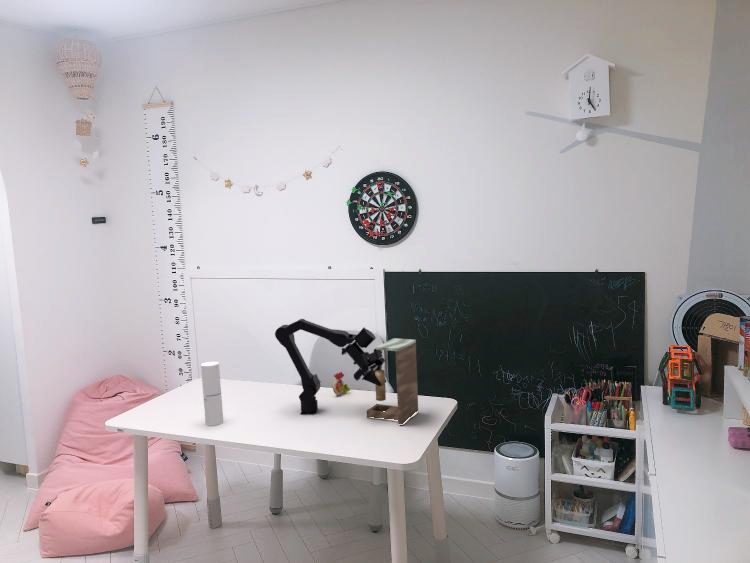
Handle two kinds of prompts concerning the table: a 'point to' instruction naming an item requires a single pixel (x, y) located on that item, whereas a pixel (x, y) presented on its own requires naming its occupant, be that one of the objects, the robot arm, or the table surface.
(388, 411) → the socket stand
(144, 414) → the table surface
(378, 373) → the peg
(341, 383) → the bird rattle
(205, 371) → the cylindrical container
